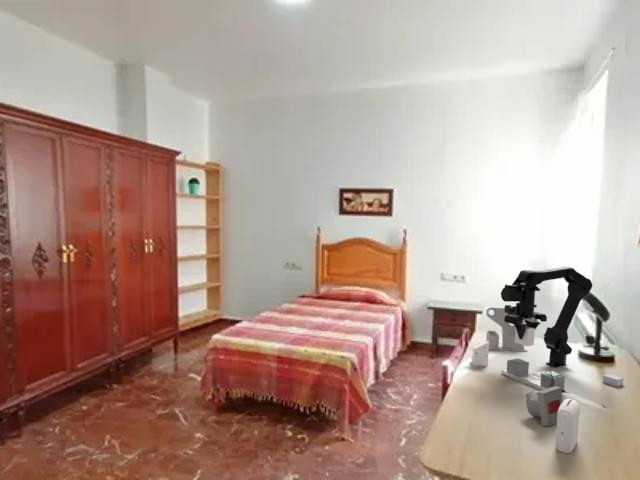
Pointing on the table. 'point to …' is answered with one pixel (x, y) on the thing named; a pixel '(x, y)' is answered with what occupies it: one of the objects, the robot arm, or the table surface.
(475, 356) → the white angled block
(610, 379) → the relay block
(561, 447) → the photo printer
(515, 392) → the table surface
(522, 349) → the grey bracket with hole
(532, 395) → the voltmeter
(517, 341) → the block
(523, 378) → the rail
